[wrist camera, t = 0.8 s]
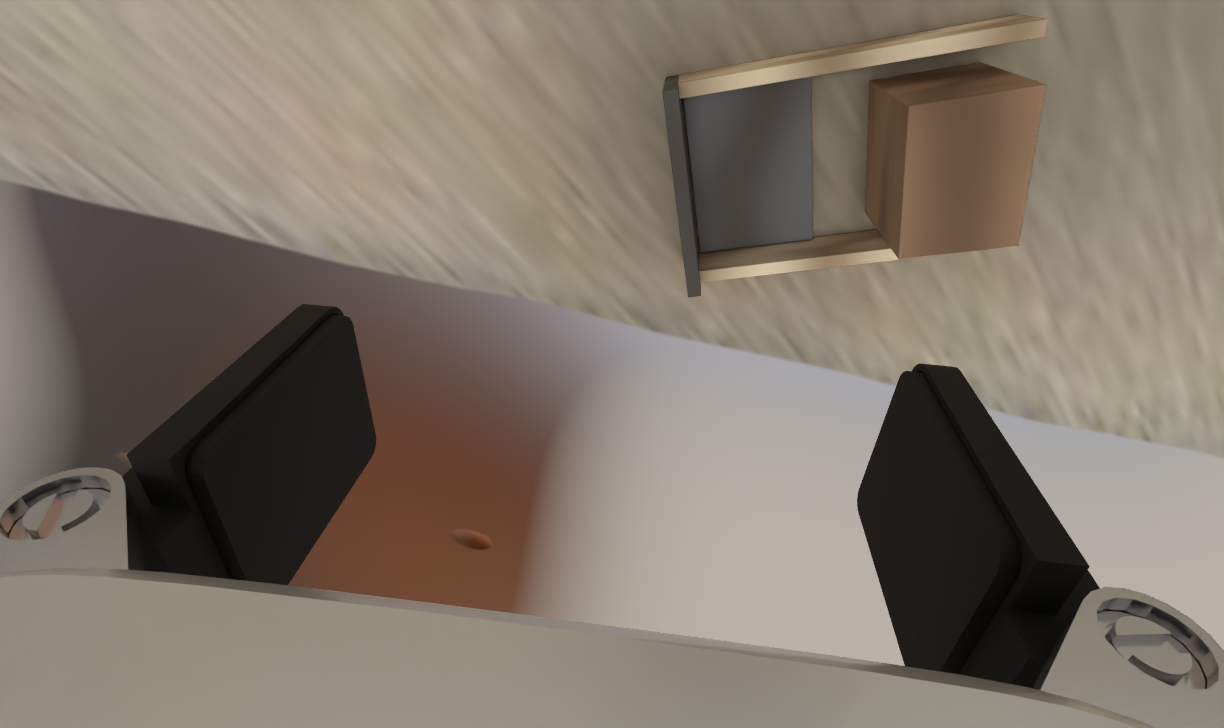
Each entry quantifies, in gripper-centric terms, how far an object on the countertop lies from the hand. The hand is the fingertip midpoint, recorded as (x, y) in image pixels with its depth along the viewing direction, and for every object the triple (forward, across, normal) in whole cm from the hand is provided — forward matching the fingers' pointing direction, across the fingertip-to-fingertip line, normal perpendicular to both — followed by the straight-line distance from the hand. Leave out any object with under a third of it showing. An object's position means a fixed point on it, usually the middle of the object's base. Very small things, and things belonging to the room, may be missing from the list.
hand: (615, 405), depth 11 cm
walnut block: (+22, -12, 0) cm, 25 cm away
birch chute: (+22, -8, +1) cm, 24 cm away
